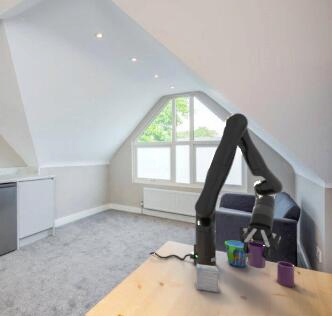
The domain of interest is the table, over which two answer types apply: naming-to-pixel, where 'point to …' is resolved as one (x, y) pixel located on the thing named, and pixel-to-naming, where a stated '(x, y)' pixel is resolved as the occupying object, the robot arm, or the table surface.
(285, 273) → the plum cup
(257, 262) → the plum cup
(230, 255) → the snack cup
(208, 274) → the medicine box
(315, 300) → the table surface
